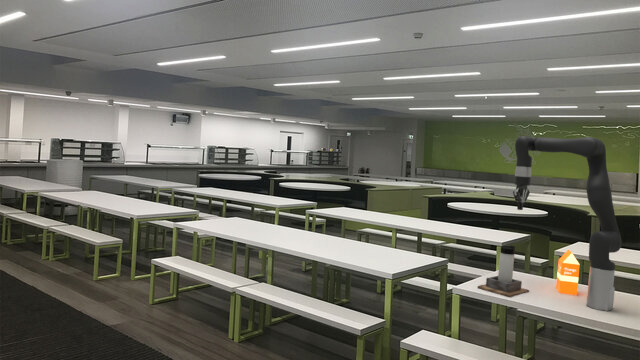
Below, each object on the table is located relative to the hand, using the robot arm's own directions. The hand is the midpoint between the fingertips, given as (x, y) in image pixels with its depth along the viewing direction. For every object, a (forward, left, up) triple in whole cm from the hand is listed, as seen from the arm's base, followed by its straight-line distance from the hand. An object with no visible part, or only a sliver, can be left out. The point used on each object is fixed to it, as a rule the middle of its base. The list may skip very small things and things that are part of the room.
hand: (519, 209), depth 238 cm
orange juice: (-23, -7, -37) cm, 44 cm away
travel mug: (-6, +20, -36) cm, 42 cm away
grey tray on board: (-6, +21, -37) cm, 43 cm away
